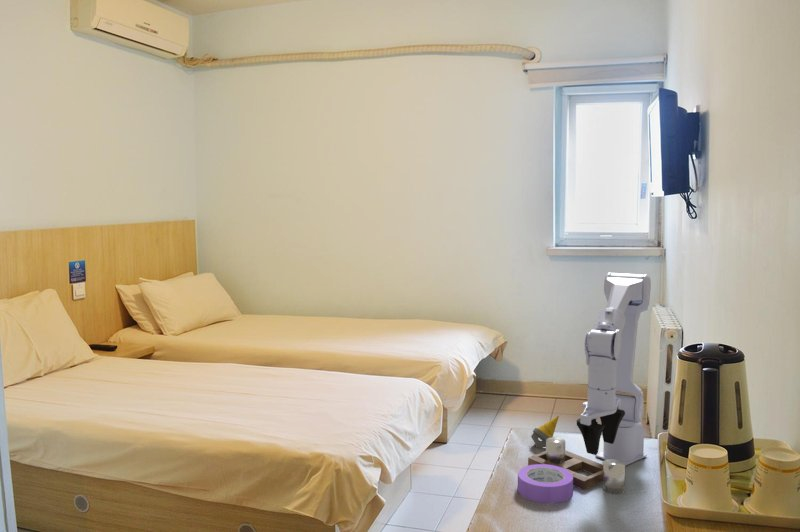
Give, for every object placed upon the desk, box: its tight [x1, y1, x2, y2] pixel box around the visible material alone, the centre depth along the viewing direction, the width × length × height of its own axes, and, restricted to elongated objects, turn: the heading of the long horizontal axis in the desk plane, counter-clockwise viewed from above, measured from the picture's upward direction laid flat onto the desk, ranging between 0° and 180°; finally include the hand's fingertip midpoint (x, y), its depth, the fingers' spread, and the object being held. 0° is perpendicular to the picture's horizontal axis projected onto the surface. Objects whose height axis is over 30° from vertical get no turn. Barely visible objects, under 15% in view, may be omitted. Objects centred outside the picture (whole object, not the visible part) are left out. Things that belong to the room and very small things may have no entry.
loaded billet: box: [545, 436, 566, 464], centre depth 164 cm, size 4×4×6 cm
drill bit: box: [530, 415, 560, 448], centre depth 177 cm, size 5×5×10 cm
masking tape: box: [517, 464, 574, 504], centre depth 152 cm, size 12×12×4 cm
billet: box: [602, 459, 626, 495], centre depth 152 cm, size 4×4×6 cm
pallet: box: [527, 449, 603, 491], centre depth 161 cm, size 10×16×2 cm, turn 37°
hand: (600, 447), depth 151 cm, fingers open, 7 cm apart
